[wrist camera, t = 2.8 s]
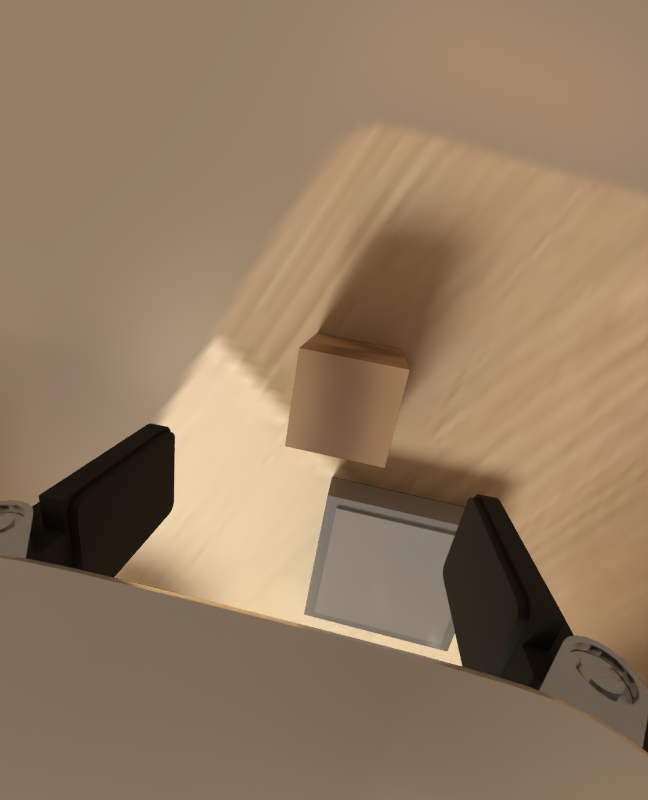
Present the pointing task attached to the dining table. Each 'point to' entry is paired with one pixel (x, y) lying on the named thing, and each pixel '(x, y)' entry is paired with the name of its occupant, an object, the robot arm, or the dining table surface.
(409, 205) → the dining table surface
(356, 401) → the cube
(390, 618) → the tray
